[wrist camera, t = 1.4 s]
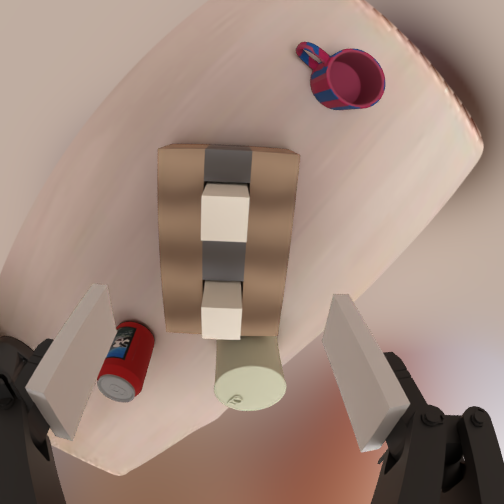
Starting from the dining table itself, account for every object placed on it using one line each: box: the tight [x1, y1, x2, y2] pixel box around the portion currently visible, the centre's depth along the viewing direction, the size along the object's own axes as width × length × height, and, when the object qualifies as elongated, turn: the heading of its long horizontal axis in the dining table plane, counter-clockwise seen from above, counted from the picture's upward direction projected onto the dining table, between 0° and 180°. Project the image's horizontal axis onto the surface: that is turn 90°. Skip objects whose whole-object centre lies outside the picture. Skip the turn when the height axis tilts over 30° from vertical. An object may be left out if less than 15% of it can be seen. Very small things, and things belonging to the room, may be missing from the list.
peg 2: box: [201, 280, 242, 340], centre depth 34 cm, size 4×4×7 cm
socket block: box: [157, 144, 300, 336], centre depth 36 cm, size 22×14×7 cm, turn 176°
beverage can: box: [97, 322, 154, 402], centre depth 40 cm, size 7×7×12 cm
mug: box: [296, 42, 385, 110], centre depth 29 cm, size 7×10×7 cm
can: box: [214, 336, 286, 411], centre depth 41 cm, size 9×9×12 cm
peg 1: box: [201, 181, 250, 242], centre depth 29 cm, size 4×4×7 cm
